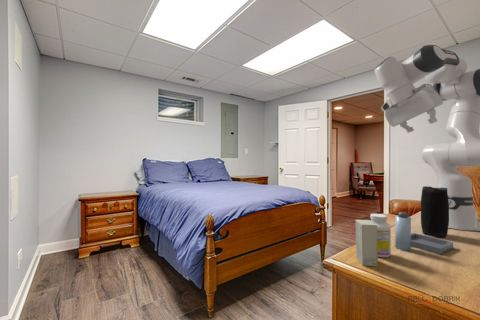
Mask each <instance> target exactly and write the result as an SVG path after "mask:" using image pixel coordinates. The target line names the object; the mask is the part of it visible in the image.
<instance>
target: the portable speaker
mask: <svg viewBox="0 0 480 320" xmlns="http://www.w3.org/2000/svg"><path fill="white" fill-rule="evenodd" d="M420 224H421V225H420V227H421V231H422V235H427V234H428V235H431V236H432V235H433V236H434V238H437V239H441V238H443V239H444V238H446V237H448V236H447V235H448V232H449V228H448V226H449V200H448V193H447V188H442V187H441V188H439V187H432V186H422V189H421V197H420Z"/></svg>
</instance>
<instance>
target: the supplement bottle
mask: <svg viewBox="0 0 480 320" xmlns="http://www.w3.org/2000/svg"><path fill="white" fill-rule="evenodd" d="M369 215H370V216H369V218H370V221H372V222H373V223H375V224H376V225H377V249H378V258H389V257H390V256H391V251H392V249H391V246H392V245H391V243H392V242H391V230H392V229H391V225H390V224H389V223H388V222H387V221H388V216H387V215H386V214H383V213H371V214H369Z"/></svg>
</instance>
